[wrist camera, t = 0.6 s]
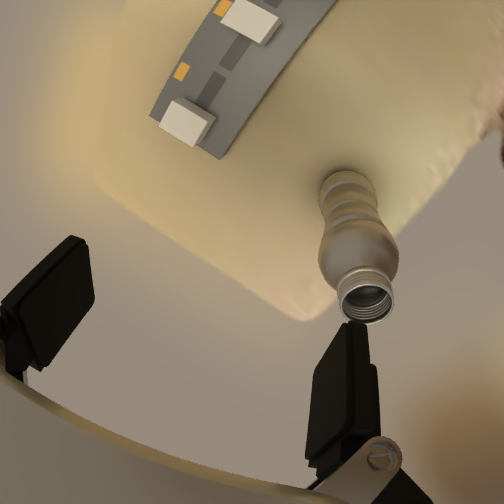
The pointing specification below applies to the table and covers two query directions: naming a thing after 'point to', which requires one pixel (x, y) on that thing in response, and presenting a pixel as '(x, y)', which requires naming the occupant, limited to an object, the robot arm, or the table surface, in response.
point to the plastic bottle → (356, 248)
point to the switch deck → (236, 66)
